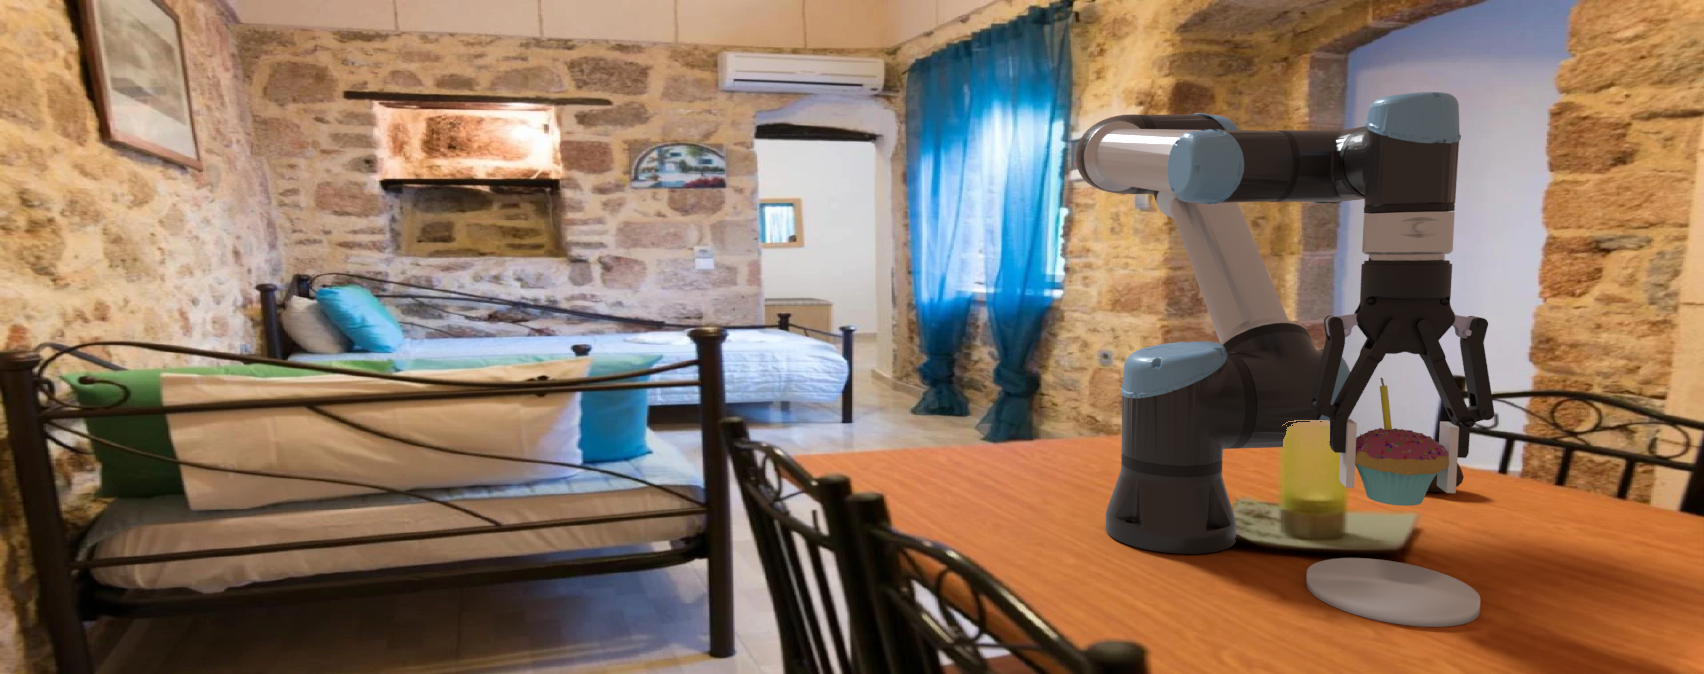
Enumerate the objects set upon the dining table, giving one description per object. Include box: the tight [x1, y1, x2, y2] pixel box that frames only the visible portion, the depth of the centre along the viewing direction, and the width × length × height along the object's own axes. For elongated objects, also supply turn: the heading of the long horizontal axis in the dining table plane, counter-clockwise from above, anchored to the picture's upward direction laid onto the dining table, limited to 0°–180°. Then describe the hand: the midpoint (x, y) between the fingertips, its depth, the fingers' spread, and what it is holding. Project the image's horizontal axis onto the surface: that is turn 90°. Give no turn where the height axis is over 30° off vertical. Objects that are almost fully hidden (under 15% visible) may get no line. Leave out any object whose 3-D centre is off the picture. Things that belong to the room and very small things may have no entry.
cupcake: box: [1355, 377, 1449, 507], centre depth 89 cm, size 9×8×12 cm
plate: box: [1305, 557, 1481, 628], centre depth 91 cm, size 15×15×1 cm
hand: (1395, 486), depth 89 cm, fingers closed on cupcake, 8 cm apart
